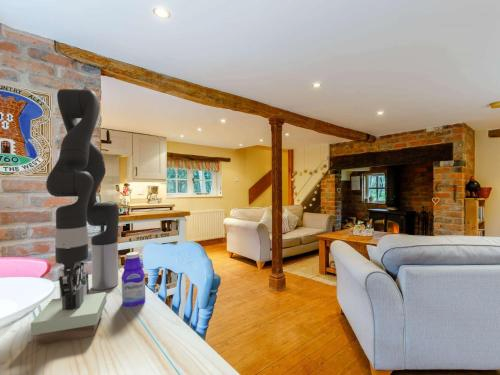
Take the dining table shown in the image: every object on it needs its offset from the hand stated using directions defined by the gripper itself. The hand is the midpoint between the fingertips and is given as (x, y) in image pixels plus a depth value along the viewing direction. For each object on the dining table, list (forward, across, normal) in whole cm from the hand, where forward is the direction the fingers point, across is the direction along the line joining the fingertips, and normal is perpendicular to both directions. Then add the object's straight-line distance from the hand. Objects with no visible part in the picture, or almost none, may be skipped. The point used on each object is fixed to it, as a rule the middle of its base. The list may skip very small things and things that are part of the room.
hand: (73, 304), depth 72 cm
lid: (+3, 0, 0) cm, 3 cm away
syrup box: (+7, -15, -4) cm, 17 cm away
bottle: (+7, -11, +14) cm, 20 cm away
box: (+7, 0, 0) cm, 7 cm away
